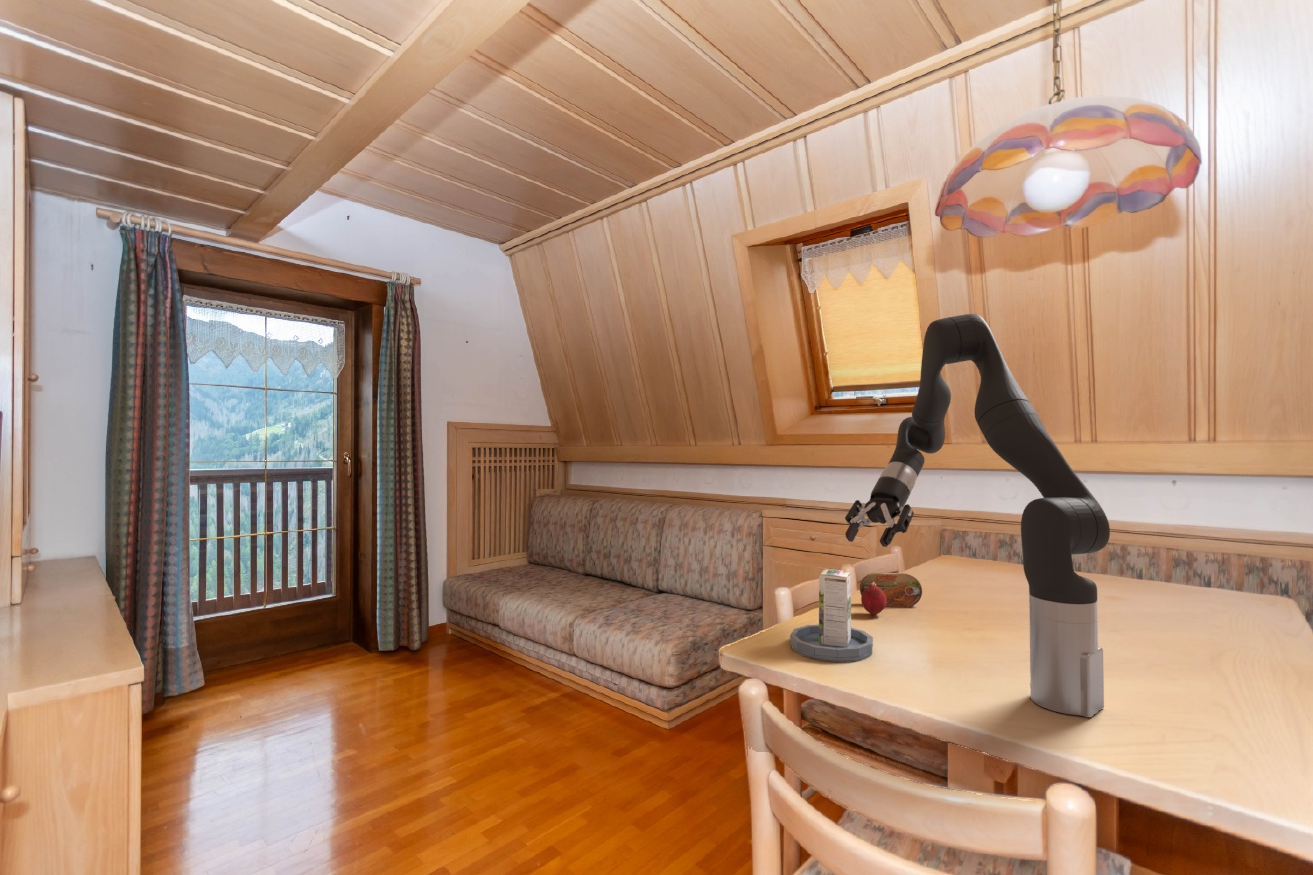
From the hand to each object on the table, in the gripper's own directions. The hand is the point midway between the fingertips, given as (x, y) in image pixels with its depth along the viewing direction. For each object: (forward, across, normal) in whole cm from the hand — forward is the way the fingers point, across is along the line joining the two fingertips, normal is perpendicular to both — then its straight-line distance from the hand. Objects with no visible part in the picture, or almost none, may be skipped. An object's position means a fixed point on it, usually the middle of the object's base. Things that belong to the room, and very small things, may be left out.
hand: (865, 541), depth 135 cm
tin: (-4, -11, +33) cm, 35 cm away
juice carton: (+22, 0, +6) cm, 23 cm away
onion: (+4, -8, +25) cm, 27 cm away
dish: (+23, 0, +6) cm, 24 cm away
